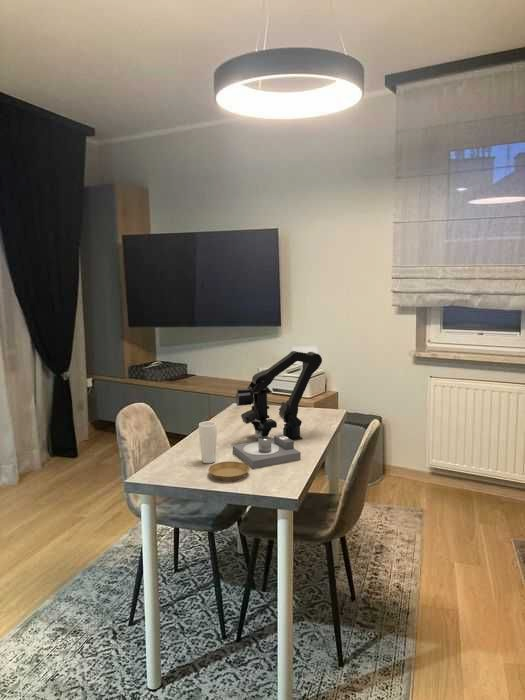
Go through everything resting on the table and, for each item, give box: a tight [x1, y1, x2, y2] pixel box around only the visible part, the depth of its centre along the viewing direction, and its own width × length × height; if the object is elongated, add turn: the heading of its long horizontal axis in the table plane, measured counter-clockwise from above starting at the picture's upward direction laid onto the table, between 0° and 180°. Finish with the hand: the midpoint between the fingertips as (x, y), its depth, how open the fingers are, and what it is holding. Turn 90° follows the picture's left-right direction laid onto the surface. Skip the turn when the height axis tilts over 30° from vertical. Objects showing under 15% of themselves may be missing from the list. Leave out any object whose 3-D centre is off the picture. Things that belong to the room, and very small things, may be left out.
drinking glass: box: [198, 420, 218, 464], centre depth 202 cm, size 7×7×15 cm
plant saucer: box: [207, 460, 251, 482], centre depth 189 cm, size 15×15×3 cm
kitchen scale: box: [232, 434, 302, 470], centre depth 207 cm, size 20×20×6 cm
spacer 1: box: [254, 429, 262, 442], centre depth 225 cm, size 5×5×5 cm
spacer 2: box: [258, 436, 272, 453], centre depth 203 cm, size 5×5×5 cm
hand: (261, 439), depth 225 cm, fingers open, 5 cm apart
